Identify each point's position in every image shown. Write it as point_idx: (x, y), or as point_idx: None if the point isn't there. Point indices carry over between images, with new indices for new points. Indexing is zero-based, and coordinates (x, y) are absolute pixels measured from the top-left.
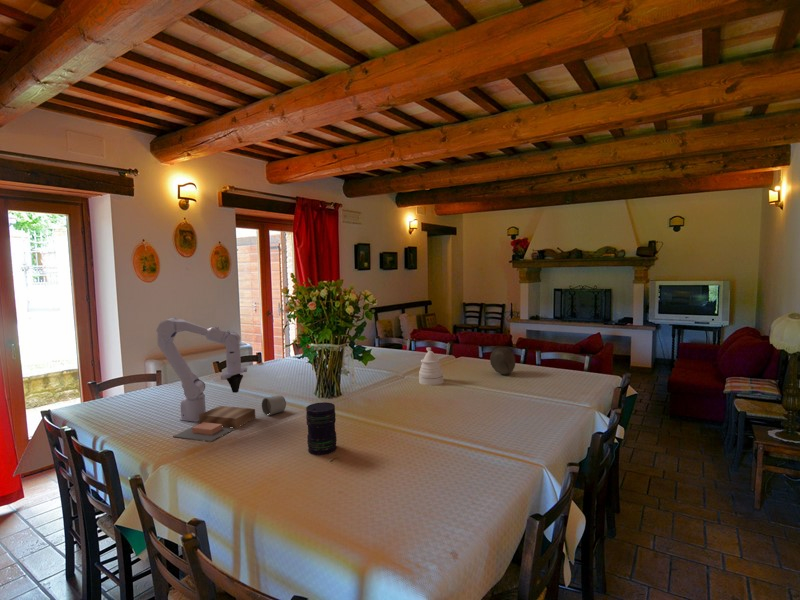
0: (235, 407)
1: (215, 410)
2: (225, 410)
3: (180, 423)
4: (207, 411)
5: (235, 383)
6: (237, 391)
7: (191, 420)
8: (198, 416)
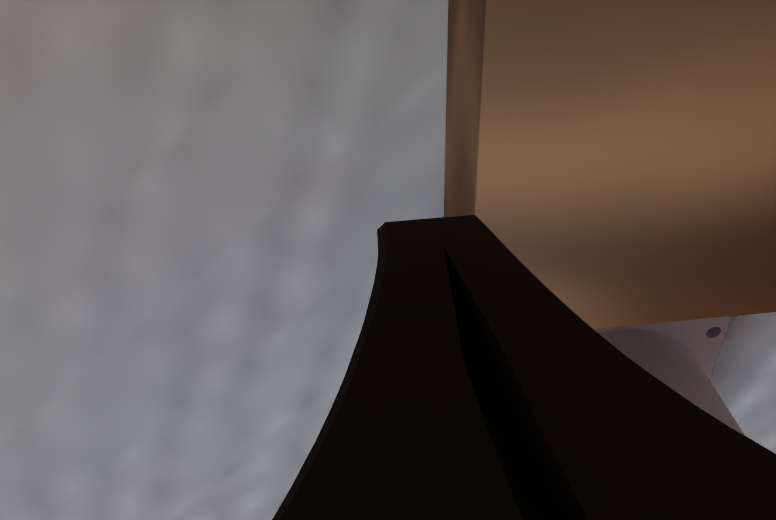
0: (501, 23)
1: (695, 241)
2: (696, 82)
3: (753, 407)
4: (741, 308)
5: (720, 433)
6: (436, 226)
7: (712, 369)
8: (688, 360)
